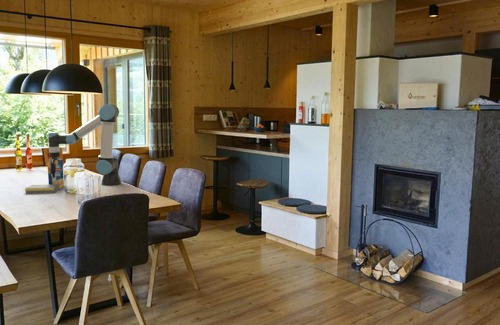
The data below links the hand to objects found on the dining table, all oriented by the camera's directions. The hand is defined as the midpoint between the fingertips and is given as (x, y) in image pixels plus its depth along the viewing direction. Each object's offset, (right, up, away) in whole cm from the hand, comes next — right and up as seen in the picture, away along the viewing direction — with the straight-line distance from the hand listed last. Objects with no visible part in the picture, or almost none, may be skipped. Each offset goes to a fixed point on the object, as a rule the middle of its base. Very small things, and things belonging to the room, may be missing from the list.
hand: (56, 180), depth 349 cm
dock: (-3, -8, -16) cm, 18 cm away
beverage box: (0, -6, +1) cm, 6 cm away
